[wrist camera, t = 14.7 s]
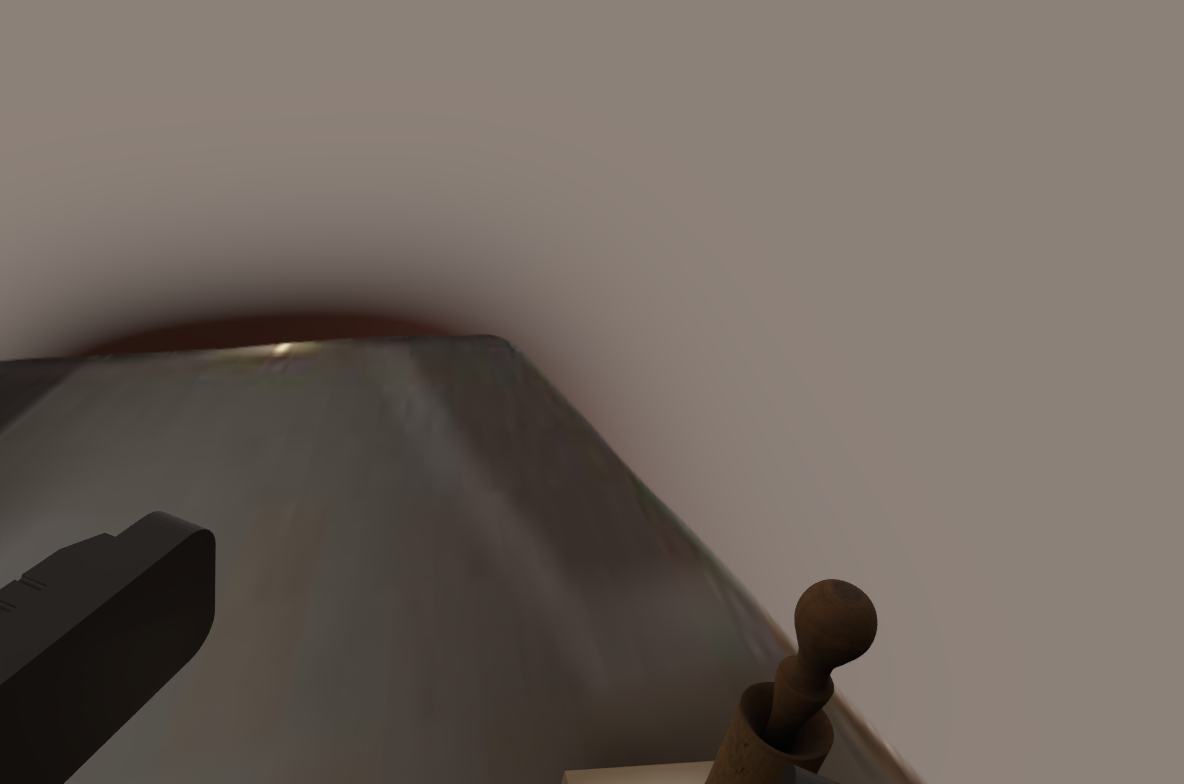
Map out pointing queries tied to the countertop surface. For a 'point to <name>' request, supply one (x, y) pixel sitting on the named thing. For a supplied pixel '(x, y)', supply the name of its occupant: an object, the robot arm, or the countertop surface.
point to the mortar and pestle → (797, 691)
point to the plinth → (642, 774)
